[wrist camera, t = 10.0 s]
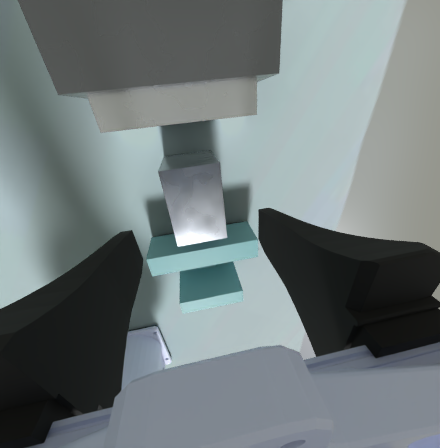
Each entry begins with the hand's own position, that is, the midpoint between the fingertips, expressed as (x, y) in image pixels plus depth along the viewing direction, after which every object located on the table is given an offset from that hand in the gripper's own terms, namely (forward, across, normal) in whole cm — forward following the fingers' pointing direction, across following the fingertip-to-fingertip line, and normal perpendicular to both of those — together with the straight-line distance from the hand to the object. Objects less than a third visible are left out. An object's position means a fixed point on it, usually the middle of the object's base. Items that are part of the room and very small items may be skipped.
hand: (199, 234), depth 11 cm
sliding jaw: (+8, 0, +8) cm, 11 cm away
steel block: (+8, 0, 0) cm, 8 cm away
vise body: (+8, 0, -8) cm, 11 cm away
